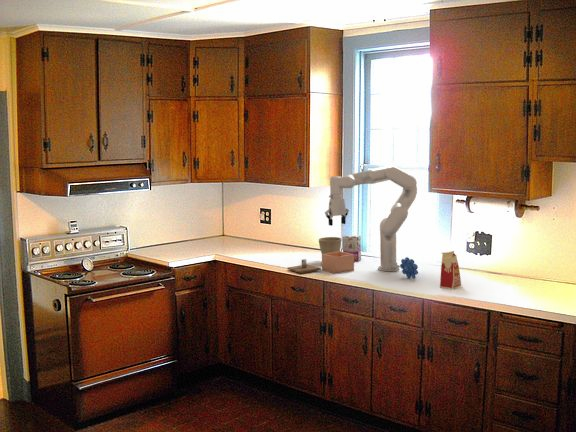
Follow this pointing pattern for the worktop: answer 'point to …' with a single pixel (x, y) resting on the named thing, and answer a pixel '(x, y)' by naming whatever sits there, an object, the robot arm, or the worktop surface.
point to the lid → (304, 268)
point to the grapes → (409, 267)
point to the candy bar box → (352, 246)
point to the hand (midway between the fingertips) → (337, 224)
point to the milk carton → (450, 271)
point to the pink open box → (338, 262)
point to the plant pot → (330, 244)
